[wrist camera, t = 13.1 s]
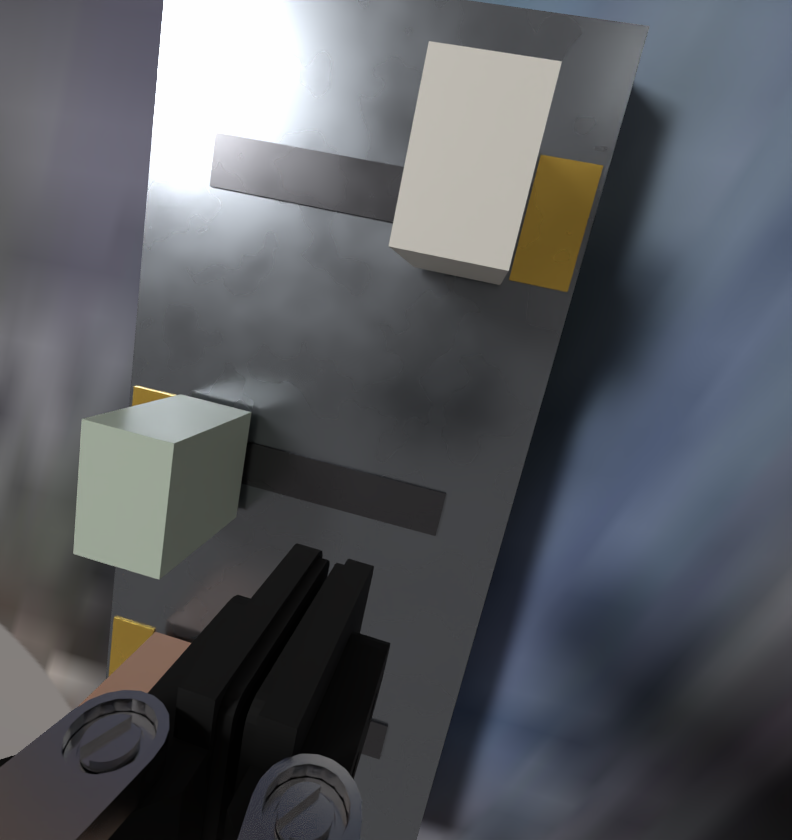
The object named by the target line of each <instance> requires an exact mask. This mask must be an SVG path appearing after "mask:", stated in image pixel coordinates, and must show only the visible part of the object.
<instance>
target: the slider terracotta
mask: <svg viewBox="0 0 792 840" xmlns="http://www.w3.org/2000/svg"><path fill="white" fill-rule="evenodd" d="M190 644H191V643H190V642H187V641H184V640H180V639H177V638H174V637H171V636H168V635H165V634H161V633H158V632H155V633H154V634H153V635H152V636H151V637H149V638H148V639H147V640H146V641H145V642H144V643H143V644H142V645H141V646H140V647H139V648H138V649H137V650H136V651H135V652H134V653H133V654H132V655H131V656H130V657H129V658H128V659H127V660H126V661H125V662H124V663H123V664H122V665H120V666H119V667H118V668H117V669H116V670H115V671H114V672H113V673H112V674H111V675H110V676H109V677H108V678H107V679H106V680H105V681H104V682H103V683H102V684H101V685H100V686H99V687H98V688H97V689H96V690H95V691H94V692H92V693H91V694H90V695H89V696H88V697H87V698H86V699H85V700H84V701H83V702H82V703H81V704H80V705H82V704H83V703H85V702H86V701H88V700H90V699H92V698H95V697H97V696H100V695H102V694H105V693H109V692H115V691H120V690H135V691H142V692H145V693H148V692H149V691H150V690H151V688H152V687H153V686H154V685H155V684H156V683H157V682H158V680H159V679H160V678H161V677H162V676H163V675H164V674H165V673H166V671H167V670H168V669H169V668H170V667H171V666H172V665H173V664H174V662H175V661H176V660H177V659H178V658H179V657H180V656H181V654H182V653H183V652H184V651H185V650H186V649H187V648H188V647H189V645H190ZM80 705H79V706H80Z"/></svg>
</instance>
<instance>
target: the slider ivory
mask: <svg viewBox="0 0 792 840" xmlns="http://www.w3.org/2000/svg"><path fill="white" fill-rule="evenodd" d="M561 63H562V61H556V60H549V59H543V58H536V57H530V56H523V55H517V54H510V53H504V52H497V51H491V50H484V49H477V48H471V47H464V46H458V45H451V44H445V43H438V42H432V41H429V43H428V48H427V53H426V58H425V63H424V68H423V73H422V79H421V84H420V89H419V94H418V99H417V104H416V109H415V114H414V119H413V124H412V129H411V134H410V140H409V145H408V150H407V155H406V160H405V165H404V170H403V175H402V180H401V185H400V190H399V195H398V201H397V206H396V211H395V216H394V221H393V226H392V231H391V236H390V241H389V247H390V248H391V249H392V250H394V251H395V252H396V253H397V254H399V255H400V256H401V257H402V258H403V259H405V260H406V261H407V262H408V263H410V264H411V265H412V266H413V267H415V268H420V269H425V270H430V271H435V272H439V273H444V274H449V275H454V276H459V277H463V278H468V279H473V280H478V281H483V282H487V283H492V284H497V285H500V284H501V283H502V281H503V279H504V278H505V276H506V274H507V273H508V271H509V268H510V264H511V260H512V256H513V252H514V248H515V244H516V240H517V236H518V232H519V228H520V224H521V220H522V216H523V212H524V208H525V205H526V201H527V197H528V193H529V189H530V185H531V181H532V177H533V173H534V169H535V165H536V161H537V157H538V153H539V149H540V145H541V142H542V138H543V134H544V130H545V126H546V122H547V118H548V114H549V110H550V106H551V102H552V98H553V94H554V90H555V86H556V82H557V79H558V75H559V71H560V67H561Z"/></svg>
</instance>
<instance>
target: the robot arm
mask: <svg viewBox="0 0 792 840" xmlns="http://www.w3.org/2000/svg"><path fill="white" fill-rule="evenodd" d="M322 557H323V552H322V550H318V549H315V548H312V547H308V546H305V545H301V544H298V543H297V544H295V545H294V546H293V547H292V549H291V550H290V551H289V552H288V553H287V555H286V556H285V557H284V558H283V560H282V561H281V562H280V563H279V564H278V566H277V567H276V568H275V569H274V571H273V572H272V573H271V574H270V575H269V577H268V578H267V579H266V580H265V582H264V583H263V584H262V585H261V586H260V588H259V589H258V590H257V591H256V593H255V594H254V595H253V596H252V597H251V599H250V598H247V597H244V596H241V595H236V596H234V597H233V598H231V599H230V600H229V601H228V602H227V604H226V605H225V606H224V607H223V608H222V609H221V610H220V612H219V613H218V614H217V615H216V616H215V617H214V618H213V619H212V621H211V622H210V623H209V624H208V625H207V626H206V627H205V628H204V630H203V631H202V632H201V633H200V634H199V635H198V636H197V638H196V639H195V640H194V641H193V642H192V643H191V644H190V645H189V647H188V648H187V649H186V650H185V651H184V652H183V653H182V654H181V656H180V657H179V658H178V659H177V660H176V661H175V662H174V664H173V665H172V666H171V667H170V668H169V669H168V670H167V671H166V673H165V674H164V675H163V676H162V677H161V678H160V679H159V680H158V682H157V683H156V684H155V685H154V686H153V687H152V688H151V690H150V691H149V692H148V693H145V692H142V691H135V690H120V691H115V692H109V693H105V694H102V695H100V696H97V697H95V698H92V699H90V700H88V701H86V702H85V703H83V704H82V705H80V706H78V707H77V708H75V709H74V710H72V711H71V712H70V713H68V714H67V715H66V716H65V717H63V718H62V719H61V720H59V721H58V722H57V723H56V724H54V725H53V726H52V727H51V728H49V729H48V730H47V731H46V732H44V733H43V734H42V735H40V736H39V737H38V738H37V739H35V740H34V741H33V742H32V743H30V744H29V745H28V746H26V747H25V748H24V749H23V750H21V751H20V752H19V753H18V754H16V755H14V756H10V757H7V758H4V759H1V760H0V840H360V833H361V824H362V799H361V797H360V794H359V791H358V788H357V785H356V783H355V781H354V777H355V773H356V770H357V767H358V763H359V760H360V756H361V753H362V750H363V746H364V743H365V740H366V736H367V733H368V730H369V726H370V723H371V719H372V716H373V712H374V709H375V705H376V701H377V698H378V694H379V690H380V686H381V682H382V678H383V674H384V670H385V666H386V662H387V658H388V654H389V649H390V643H389V642H386V641H383V640H379V639H376V638H373V637H370V636H367V635H364V634H361V633H360V631H361V626H362V622H363V617H364V612H365V608H366V603H367V599H368V594H369V589H370V585H371V580H372V576H373V570H374V566H372V565H369V564H366V563H362V562H359V561H355V560H352V559H347V561H346V563H345V564H344V565H343V564H340V563H336V564H335V565H334V567H333V568H332V570H331V572H330V573H329V575H328V571H329V565H330V561H329V560H327V559H323V558H322ZM327 576H328V577H327Z"/></svg>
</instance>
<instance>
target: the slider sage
mask: <svg viewBox="0 0 792 840" xmlns="http://www.w3.org/2000/svg"><path fill="white" fill-rule="evenodd" d="M250 419H251V412H249V411H245V410H241V409H237V408H233V407H229V406H225V405H221V404H217V403H213V402H210V401H206V400H202V399H198V398H194V397H190V396H186V395H182V394H180V395H176V396H172V397H168V398H164V399H160V400H156V401H152V402H148V403H144V404H140V405H136V406H132V407H128V408H124V409H120V410H116V411H112V412H108V413H104V414H100V415H96V416H92V417H88V418H84V419H82V425H81V440H80V456H79V472H78V488H77V504H76V520H75V536H74V552H73V554H76V555H79V556H82V557H86V558H89V559H92V560H96V561H99V562H102V563H106V564H109V565H112V566H116V567H119V568H122V569H126V570H129V571H132V572H135V573H139V574H142V575H145V576H149V577H152V578H155V579H161V578H162V577H163V576H164V575H166V574H167V573H168V572H169V571H171V570H172V569H173V568H174V567H175V566H177V565H178V564H179V563H180V562H182V561H183V560H184V559H185V558H187V557H188V556H189V555H190V554H191V553H193V552H194V551H195V550H196V549H198V548H199V547H200V546H201V545H203V544H204V543H205V542H206V541H207V540H209V539H210V538H211V537H212V536H214V535H215V534H216V533H217V532H219V531H220V530H221V529H222V528H223V527H225V526H226V525H227V524H228V523H230V522H231V521H232V520H233V519H234V518H236V515H237V508H238V502H239V495H240V488H241V481H242V474H243V467H244V460H245V453H246V447H247V440H248V433H249V426H250Z"/></svg>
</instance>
